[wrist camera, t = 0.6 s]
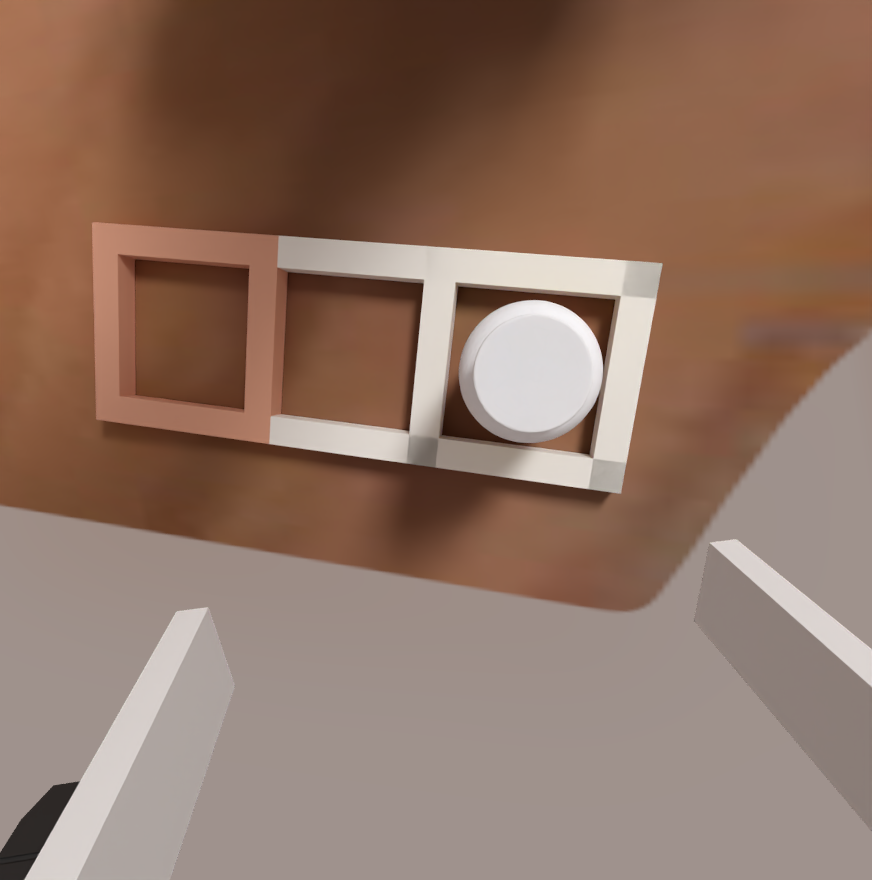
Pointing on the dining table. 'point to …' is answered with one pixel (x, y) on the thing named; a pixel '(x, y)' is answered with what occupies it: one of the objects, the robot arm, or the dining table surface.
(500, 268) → the rack
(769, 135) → the dining table surface
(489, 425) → the supplement bottle
